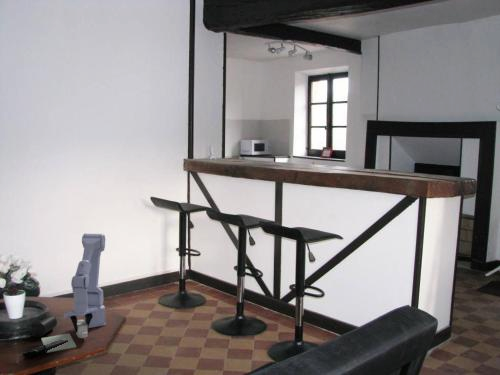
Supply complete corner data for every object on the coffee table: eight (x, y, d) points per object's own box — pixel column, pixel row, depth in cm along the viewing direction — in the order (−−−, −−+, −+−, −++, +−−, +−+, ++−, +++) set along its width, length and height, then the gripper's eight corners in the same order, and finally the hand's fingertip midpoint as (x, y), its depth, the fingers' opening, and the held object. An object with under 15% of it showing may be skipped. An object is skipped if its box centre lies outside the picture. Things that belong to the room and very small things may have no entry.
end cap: (45, 338, 228) (45, 323, 227) (31, 336, 229) (30, 322, 228) (57, 329, 237) (57, 315, 237) (43, 328, 238) (43, 314, 238)
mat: (69, 334, 232) (69, 333, 232) (76, 347, 218) (76, 346, 218) (41, 339, 226) (41, 338, 226) (46, 352, 212) (46, 351, 212)
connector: (83, 329, 233) (83, 318, 232) (89, 339, 222) (89, 328, 221) (74, 330, 231) (74, 320, 230) (80, 340, 220) (80, 329, 219)
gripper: (65, 306, 219) (66, 337, 220) (99, 301, 226) (99, 330, 228) (62, 302, 225) (63, 331, 226) (95, 297, 232) (96, 325, 234)
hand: (81, 330), depth 227 cm, fingers closed on connector, 4 cm apart
